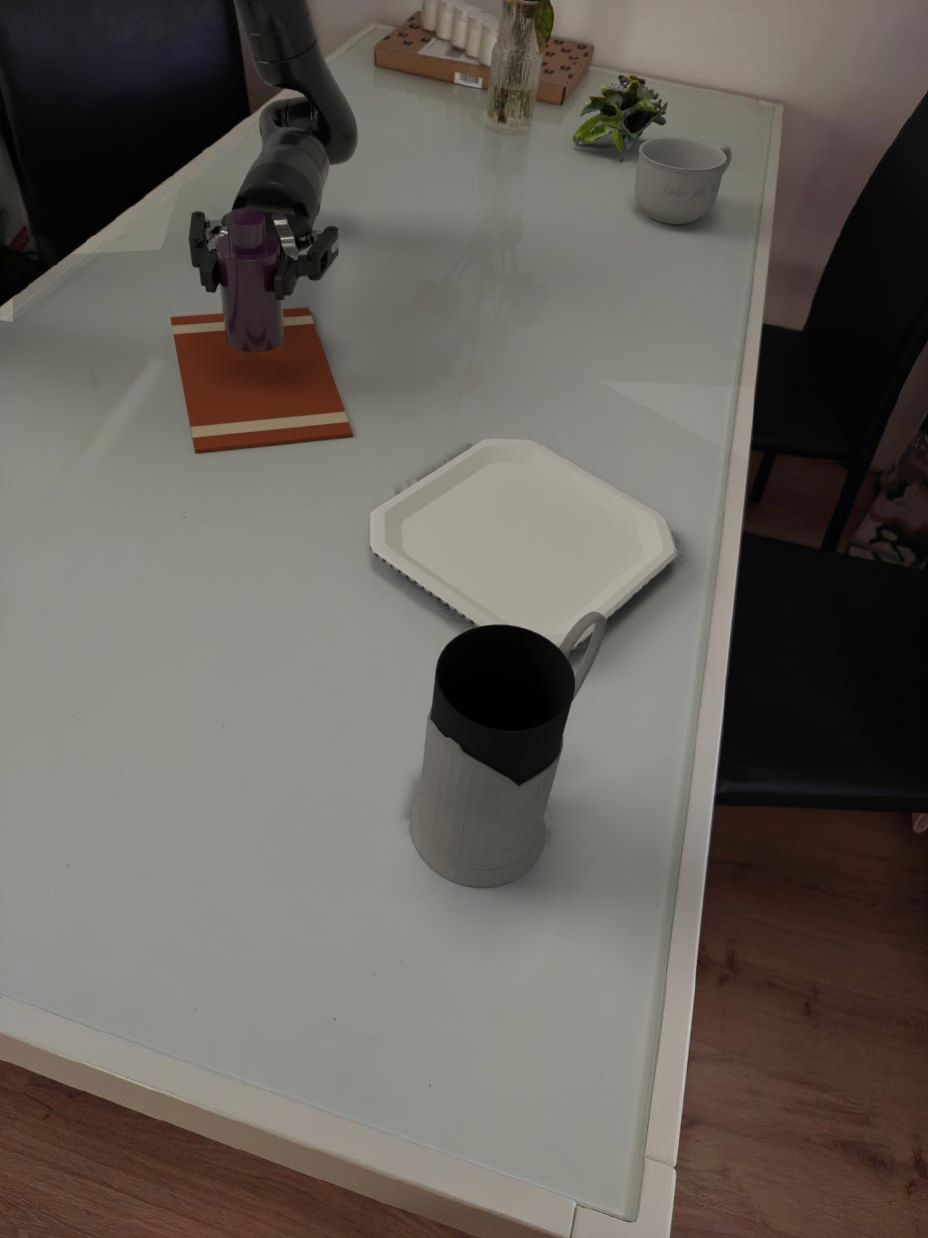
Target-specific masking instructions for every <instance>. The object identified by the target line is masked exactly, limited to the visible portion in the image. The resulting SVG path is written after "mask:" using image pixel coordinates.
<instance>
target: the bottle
mask: <svg viewBox="0 0 928 1238" xmlns="http://www.w3.org/2000/svg"><path fill="white" fill-rule="evenodd" d="M226 214H227V216H226V221H227V232H228V234H226V235H224V236H222V237H221V238H219V239H218V241H217V243H216V253H217V262H218V272H219V281H220V283H219V288H220V289H219V290H220V299H221V309H222V313H223V318H224V328H225V337H226V340H227V342H228V344H229V345H230V346H232V347H233V348H235V349H237V350H240V351H244V352H251V353H259V352H266V351H270V350H272V349H275V348H276V347H278V346H279V345H281V343H282V342H283V340H284V337H285V336H284V318H283V309H284V303H283V302H284V300H276V299H275V289H274V278H275V274H276V272H277V269H278V266H279V264H280V248H279V243H278V241H277V240H276V239H275V238H274V237H273V236H271V235H269V234H266V230H265V217H264V215H263V214H262V213H261V212H259V211H257V210H253V209H237V210H233V211H231V210H230V211H229V212H228V213H226Z"/></svg>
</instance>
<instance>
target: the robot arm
mask: <svg viewBox="0 0 928 1238" xmlns="http://www.w3.org/2000/svg"><path fill="white" fill-rule="evenodd" d="M233 3H234V7H235V11H236V14H237V16H238V19H239V22H240V26H241V29H242V33H243V36H244V39H245V42H246V45H247V49H248V51H249V55H250V58H251V61H252V63H253V68H254V70H255V72H256V74H257V76H258V78H259V79H260V80H261V81H262V83H264V84H265V85H267V86H270V87H273V88H277V89H284V90H290V91H295V92H297V93H300V94H301V95H303V96H297V97H291V98H289V97H288V98H282V99H278V100H277V99H276V100H273V101H272V102H270V103H268V104H267V105H265V107H264V108H263V109H262V110H261V112H260V115H259V121H258V126H259V127H258V128H259V129H258V130H259V136H260V141H261V151H260V153H259V155H258V157H257V158H256V159H255V160H254V161H253V163H252V164H251V166H250V167H249V170H248V172H247V174H246V175H245V176H244V177H245V178H244V179H243V182H242V184H241V186H240V188H239V189H238V192H237V194H236V196H235V198H234V201H233V204H232V206H231V210H230V212H231V211H233V210H237V209H253V210H257V211H259V212H261V213H262V214H263V215H264V217H265V230H266V234H269V235H271V236H273V237H274V238H275V239H276V240H277V241H278V243H279V248H280V264H279V266H278V269H277V272H276V274H275V278H274V289H275V299H276V300H283V301H285V298H286V296H290V297H291V295H293V294H294V291H295V289H296V286H297V283H298V282H299V281H301V278H302V277H307V279H308V280H310V281H314V282H316V281H317V282H318V281H320V280H321V279H322V278H323V277H324V275H325V274H326V273H327V271H328V269H329V268H330V267H331V265H332V264H333V263H334V262H335V260H336V259H337V257H338V256H339V246H340V245H339V228H338V227H337V226H334V225H328V226H326V227H325V228H324V229H323V230H314V229H313V227H314V224H315V221H316V219H317V217H318V216H319V215H320V211H321V203H322V199H323V191H324V188H325V185H326V182H327V180H328V177H329V173H330V166H337V165H342V164H345V163H347V162H349V161H350V160H351V159H352V158H353V156H354V154H355V153H356V151H357V148H358V142H359V130H358V124H357V120H356V118H355V115H354V112H353V110H352V108H351V106H350V104H349V102H348V100H347V98H346V96H345V94H344V93H343V91H342V89H341V88H340V86H339V84H338V83H337V81H336V79H335V77H334V75H333V73H332V71H331V69H330V67H329V66H328V64H327V61H326V59H325V57H324V55H323V52H322V50H321V46H320V43H319V39H318V37H317V33H316V28H315V24H314V20H313V16H312V13H311V10H310V5H309V2H308V0H233ZM227 214H228V213H226V214H223V216H222V217H221V219H210V218H206V213H205V212H203V211H201V210H196V211H193V212H192V213H191V215H190V224H189V225H190V226H189V233H188V245H189V252H190V260H191V266H192V267H193V268H197V269H198V272H199V279H200V280H199V281H200V286H201V287H205V292H206V293H211V294H212V293H213V294H215V293H216V291H217V290H218V287H219V286H220V281H219V272H218V262H217V253H216V243H217V241H218V239H219V238H221V237H222V236H224V235H226V234H228V232H227V221H226V216H227ZM308 248H309V249H308ZM306 249H308V250H307V251H306V254H300V252H302V251H304V250H306Z"/></svg>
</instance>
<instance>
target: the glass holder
mask: <svg viewBox="0 0 928 1238" xmlns="http://www.w3.org/2000/svg"><path fill="white" fill-rule="evenodd" d="M607 622H608V621H607V620H606V618H605V617H604V616H603V615H602V614H600V613H599V612H594V611H592V612H590V613H588V614H586V615H585V616H583V617H582V618H581V619H580V620H579V621H578V622H577V623H576V624H575V625H574V626H573V627H572V628H571V630H570V631H569V633H568V634H567V635H566V637H565V638H564V640H563V642H562V643H561V645H560V647H559V648H558V647H557V646H556V645H555V644H554V643H552V642H551V641H550V640H549V639H547V638H545V637H544V636H542V635H540V634H538V633H536V632H533V631H531V630H529V629H525V628H522V627H518V626H512V625H501V624H493V625H484V626H480V627H477V626H475V627H473V628H470V629H467V630H465V631H463V632H461V633H459V634H458V635H457V636H455V637H453V638H452V639H451V640H450V641H449V642H448V643H447V644H445V646H444V648H443V649H442V650H441V652H440V654H439V656H438V659H437V661H436V666H435V672H434V673H435V674H434V681H433V682H434V683H433V692H432V701H431V707H430V710H429V712H428V715H427V718H426V728H425V739H424V748H423V758H422V768H421V777H420V787H419V793H418V795H417V796H416V798H415V800H414V804H413V805H412V808H411V811H410V817H409V832H410V836H411V842H412V843H413V845H414V848H415V850H416V852H417V853H418V855H419V857H420V858H421V859H422V861H423V862H424V863H425V864H426V865H427V866H428V867H429V868H430V869H431V870H432V871H433V872H435V873H436V874H438V875H439V876H440V877H442V878H444V879H446V880H448V881H450V882H452V883H455V884H459V885H462V886H466V887H472V888H491V887H496V886H497V887H498V886H502V885H506V884H507V883H510V882H513V881H515V880H516V879H518V878H520V877H522V876H523V875H524V874H525V873H526V872H528V871H529V870H530V869H531V868H532V867H533V866H534V864H535V863H536V862H537V861H538V859H539V857H540V856H541V853H542V851H543V848H544V844H545V841H546V830H547V829H546V822H545V821H546V820H545V813H546V811H547V806H548V803H549V799H550V795H551V792H552V788H553V784H554V781H555V777H556V773H557V770H558V766H559V764H560V760H561V757H562V752H563V749H564V732H565V729H566V725H567V722H568V719H569V716H570V715H569V714H570V712H571V711H570V710H571V707H572V704H573V701H574V700H575V698H576V697H577V696H578V694H579V692H580V690H581V688H582V686H583V684H584V682H585V681H586V678H587V677H588V675H589V673H590V671H591V669H592V667H593V665H594V663H595V661H596V659H597V655H598V654H599V651H600V648H601V646H602V643H603V639H604V636H605V633H606V630H607V629H606V628H607ZM593 623H595V627H594V631H593V633H592V634H591V638H590V640H589V642H588V646H587V648H586V651H585V653H584V656H583V658H582V660H581V662H580V663H579V666H578V668H577V670H576V672H574V669H573V667H572V664H571V662H570V660H569V659H568V658H569V657H570V654H571V652H572V651H573V650H574V649H573V647H574V645H575V644H576V642H577V641H578V639H579V638H580V637H581V635H582V634H583V633H584V632H585V631H586V629H587V628H588V627H589V626H591V625H592V624H593ZM572 649H573V650H572Z"/></svg>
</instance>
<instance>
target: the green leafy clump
mask: <svg viewBox="0 0 928 1238" xmlns="http://www.w3.org/2000/svg"><path fill="white" fill-rule="evenodd" d="M617 79H618V80H619V85H617V83H615V84H613V83H612V82H611V85H612V86H609V84H607V86H605V85H602V86H601V87H600V93H599V94H597V96H595V95H593V94H590V95H589V97H588V99H589V100H590V103H589V102H585V103H584V107H583V108H582V109H581V111H580V114H579V117H583V116H584V115H586V114H590V113H592V112H597V111H599V114H596V115H594V116H591V117H590V118H589V119H587V120H585V122H584V123H583V124H582V125H580V126H579V127H578V129H577V130H576V131H575V133H574V134H573V136H572V142H573V143H575V145H576V146H578V145H579V142H582V144H585V145H586V144H590V143H593V142H595V141H597V140H599V139H601V138H603V137H606V136H608V135H611V134H612V142H613V144H614V146H615V148H616V149H617V150H618V151H619V152H620V153H623V155H622V156H621V158H620V160H619V162H623V160H624V159H625V157H626V156H627V154H628V152H629V150H630V148H631V147H632V146H633V144H634V143H635V142H637V141H638V140H639V138H640V137H641V136H642V135H643V133H644V131H645V130H646V129H647V128H648V127H649V126H650V125H651V124H653V123H655V124H657V125H659V126H665V125H666V123H667V119H666V118H665V117H664V115H666V114H667V111H666V110H667V108H668V102H667V101H666V102H665V103H664V104H663V105H662V101H663V100H662V99H661V98H659V96H660V94H659V93H658V92H656V93H654V92H655V89H652V88H650V89H649V88H648V86H646V84H647V82H646V79H645V78H640V77H639V76H637V75H635V74H629V75H628V76H626V75H623V74H619V75H618V76H617ZM623 151H624V152H623Z"/></svg>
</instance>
